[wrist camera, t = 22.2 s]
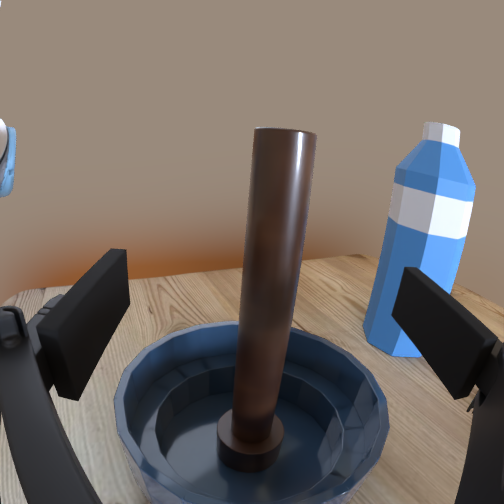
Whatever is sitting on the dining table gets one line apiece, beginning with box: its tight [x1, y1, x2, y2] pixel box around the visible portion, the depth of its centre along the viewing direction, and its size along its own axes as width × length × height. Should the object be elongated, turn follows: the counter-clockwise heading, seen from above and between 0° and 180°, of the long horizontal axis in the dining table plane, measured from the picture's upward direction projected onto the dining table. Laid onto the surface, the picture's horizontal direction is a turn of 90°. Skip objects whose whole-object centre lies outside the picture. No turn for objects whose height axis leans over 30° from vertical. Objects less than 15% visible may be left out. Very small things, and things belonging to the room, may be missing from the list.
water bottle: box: [363, 122, 476, 357], centre depth 31 cm, size 9×9×25 cm
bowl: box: [114, 321, 390, 504], centre depth 18 cm, size 16×16×6 cm
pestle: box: [217, 127, 317, 473], centre depth 16 cm, size 4×4×20 cm
